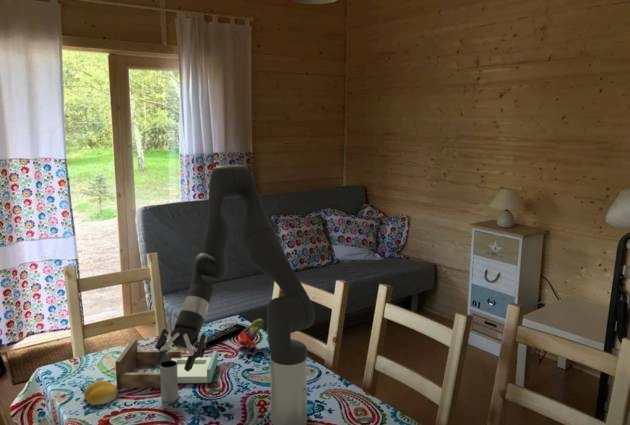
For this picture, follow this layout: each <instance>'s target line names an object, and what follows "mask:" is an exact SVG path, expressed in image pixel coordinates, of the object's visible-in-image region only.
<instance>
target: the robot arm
mask: <svg viewBox="0 0 630 425" xmlns="http://www.w3.org/2000/svg"><path fill="white" fill-rule="evenodd" d="M256 185H257V184H256V182H255V180H254V176H253V174H252V172H251V170H250V169H249V167H247V166H246V165H243V164H226V165H225V164H223V165H217V166H215V167H214V168H213V169H212V170H211V174H210V178H209V187H208V188H209V189H208V208H207V209H208V211H207V212H208V214H207V226H206V231H205V236H204V240H203V246H202V249H203V251H204V252H201V253H198V254H197V255H196V256H195V258H194V260H193V265H192V266H193V267H192V276H191V278H192V279H191V282H190V283H191V284H190V287H189V289H188V292H187V294H186V298H185V299H184V301H183V303H182V305H181V308H180V310H179V313H178V315H177V318H176V321H175V325H174V328H173V330H171V331H170V330H167V328H163V329H162V331H161V333H160V335H159V338H158V339H157V342H156V344H155V346H154V347H155V349H156V350H159V351H160V353H159V356H158V359H157V364H156V365H157V366H158V367H159V368H160V364H161V363H162V362H163V361H165V359H166V356H167V355H166V354H167V353H168V352H169V351H171V350H175V349H176V348H177V349H184V350H188V353H189V355H188V356H187V357H188V359H187V362H186V364H185V367H184V369H185V370H186V371H190V370H191V369H192V367H193V364H194V361H195V359H196V358H198V357H200V358H202V357H204V355H205V352H206V348H207V344H208V340H209V338H208V337H207V336H206V334H204V333H203V334H201V335H200V333H201V330H202V327H203V325H204V322H205V320H206V317H207V313H208V310H209V305H210V303H211V299H212V296H213V293H214V286H213V285H212V284H211V283H210V282H208V281H206V280H205V279H203V278H202V277H205V278H208V279H212V280H215V281H220V280H222V279H224V278H225V276H226V274H227V272H228V260H227V247H228V243H229V239H230V236H231V235H230V234H231V228H230V224H229V221H228V219H227V218H226V215H225V213H224V210H223V204H224V200H225V199H229V198H240V199H241V201H242V203H243V206H244V210H245V212H244V219H243V222H242V227H241V231H240V237H241V238H240V239H241V242H242V245H243V248H244V250H245V252H246V255H247V257H248V259H249V260H250V262H251V263H252V264H253V265H254V266H255V267H256V268H258V270H260V271H261V272H263V273H264V274H265V275H267V277H269V278H270V279H272V281H274V282H275V283H276V285H277V286H278V288H279V289H280V291H281V292H282V294H283V296H282V295H281V296H279V297H275V298H272V299H270V300H269V301H268V304H267V308H266V326H267V344H268V347H269V348H268V349H269V352H270V353H269V355H270V359H269V360H270V366H269V367H270V410H269V412H270V422H271V424H272V425H307V423H308V422H307V417H308V416H307V415H308V412H307V411H308V409H307V407H308V406H307V404H308V403H307V400H308V386H307V384H308V382H307V381H308V380H307V379H308V378H307V376H308V374H307V373H308V371H307V370H308V368H307V367H308V363H307V362H308V361H307V360H308V352H307V351H308V348H307V346H306V344H305V343H303V342H302V341H300V340H296V339H292V337H291V335H292V334H293V333H297V332H299V331H302V330H306V329H309V328H310V327H312V326H313V325H314V322H315V321H316V319H315V318H316V315H315V314H316V312H315V309H314V306H313V303H312V300H311V299H310V296H309V294H308V293H307V291H306V289H305V288H304V286H303V284H302V283H301V281H300V279H299V277H298V276H297V275H296V272H295V271H294V269H293V267H292V265H291V263H290V261H289V259H288V257H287V255H286V253H285V251H284V249H283V246H282V244H281V241H280V238H279V237H278V234H277V232H276V231H275V228H274V227H273V225H272V222H271V220H270V219H269V216H268V213H267V211H266V209H265V207H264V205H263V201H262V199H261V197H260V194H259V190H258V188H257V186H256ZM170 337H171V338H170ZM168 339H169V340H168ZM197 342H198V346H197V349H196V346H195V343H197Z"/></svg>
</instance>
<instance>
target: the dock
mask: <svg viewBox="0 0 630 425" xmlns="http://www.w3.org/2000/svg"><path fill="white" fill-rule="evenodd" d="M159 353H160V351H159V350H158V349H156V350H155V349H154V350H138V338H132V339H131V341H130V342H129V343H128V345H127V346H126V347H125V348H124V350H123V351H122V352H121V353H120V355H119V356H118V357H117V359H116V360H115V376H116V377H115V378H116V379H115V380H116V388H117V389H119V388H120V389H123V388H125V389H126V388H128V389H129V388H130V389H132V388H135V389H136V388H137V389H138V388H141V389H142V388H147V389H149V388H161V380H160V372H133V370H134V369H135V367H136V366H137V365H157V359H158V356H159ZM166 355H167V356H166V359H165V361H166V360H171V359H172V357H183V356H182V350H181V349H180V350H179V349H178V350H177V349H176V350H175V349H173V350H171V351H169V352H168V353H167V354H166Z"/></svg>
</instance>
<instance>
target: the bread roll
mask: <svg viewBox="0 0 630 425" xmlns="http://www.w3.org/2000/svg"><path fill="white" fill-rule="evenodd" d="M83 397H84V399H85V400H86V401H87V403H88V404H89V405H90V406H91V405H93V406H99V405H100V406H101V405H105V404H108V403H111V402H112V401H113V400H115V399H116V398H117V397H118V388H117V386H115V385H114V384H113V383H112V382H110V381H108V380H99V381H94V382H93V383H91V384H89V385H88V387H86V389H85V390H84V393H83Z"/></svg>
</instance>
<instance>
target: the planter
mask: <svg viewBox="0 0 630 425" xmlns="http://www.w3.org/2000/svg"><path fill="white" fill-rule="evenodd" d="M159 373H160V380H161V387H160V395H161V396H160V397H161V401H162V402H164V403H172V402H173V403H174V402H175V401H177V400H178V399H179V383H178V374H177V362H176V361H174V360H166V361H163V362H162V363H161V364H160V367H159Z"/></svg>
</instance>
